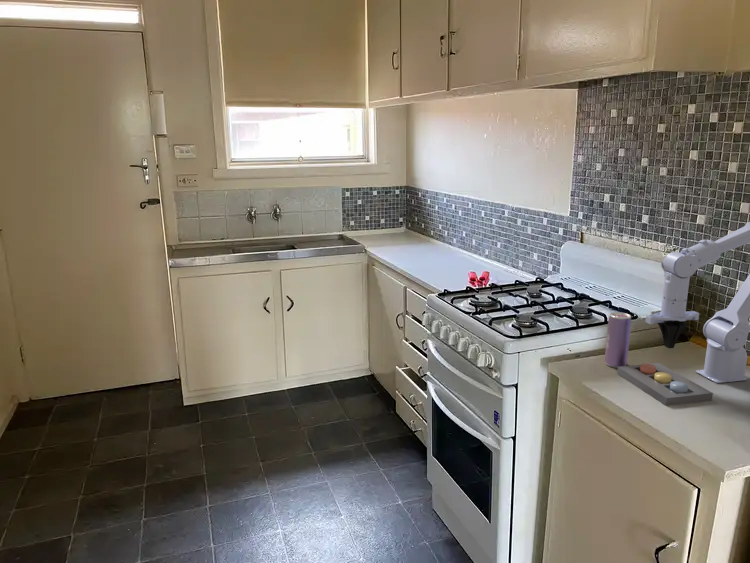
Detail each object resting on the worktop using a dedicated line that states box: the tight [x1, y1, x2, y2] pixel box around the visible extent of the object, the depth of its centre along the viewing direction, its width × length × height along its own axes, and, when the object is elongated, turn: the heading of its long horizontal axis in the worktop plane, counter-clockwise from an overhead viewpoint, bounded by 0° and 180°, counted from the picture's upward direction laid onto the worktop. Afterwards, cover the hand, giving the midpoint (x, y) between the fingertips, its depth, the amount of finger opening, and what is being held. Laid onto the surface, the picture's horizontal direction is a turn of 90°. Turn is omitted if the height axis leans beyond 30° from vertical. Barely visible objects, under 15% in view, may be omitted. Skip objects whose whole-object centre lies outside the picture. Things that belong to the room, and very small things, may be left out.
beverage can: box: [604, 311, 632, 369], centre depth 163 cm, size 6×6×15 cm
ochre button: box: [654, 372, 672, 384], centre depth 150 cm, size 4×4×2 cm
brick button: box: [639, 363, 656, 375], centre depth 156 cm, size 4×4×2 cm
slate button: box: [670, 381, 688, 394], centre depth 144 cm, size 4×4×2 cm
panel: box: [616, 362, 714, 406], centre depth 150 cm, size 13×20×2 cm, turn 11°
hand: (668, 346), depth 152 cm, fingers closed
